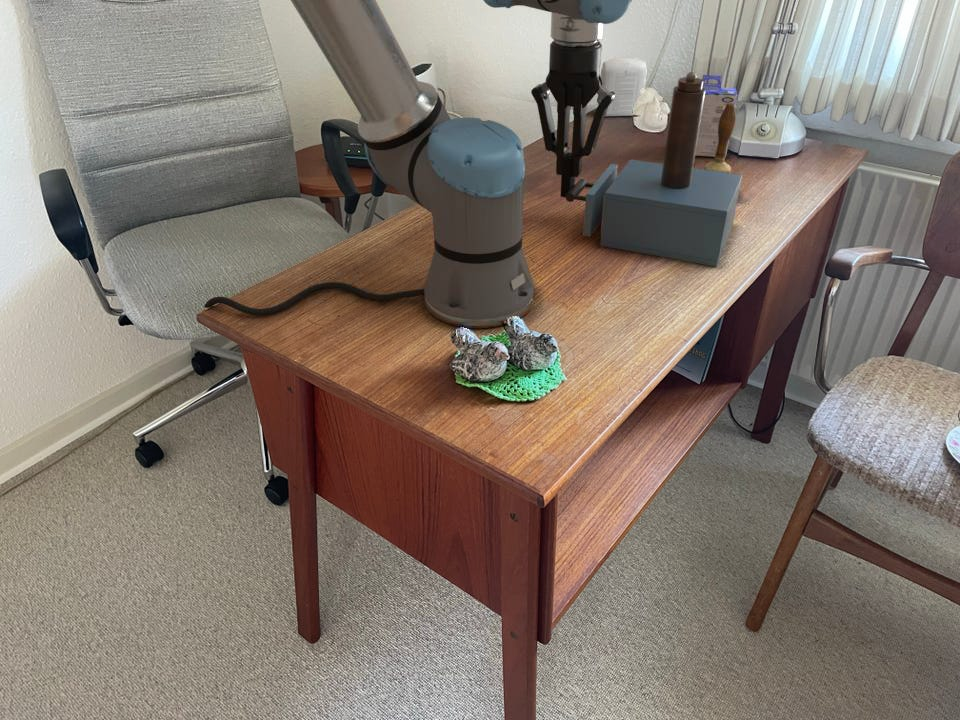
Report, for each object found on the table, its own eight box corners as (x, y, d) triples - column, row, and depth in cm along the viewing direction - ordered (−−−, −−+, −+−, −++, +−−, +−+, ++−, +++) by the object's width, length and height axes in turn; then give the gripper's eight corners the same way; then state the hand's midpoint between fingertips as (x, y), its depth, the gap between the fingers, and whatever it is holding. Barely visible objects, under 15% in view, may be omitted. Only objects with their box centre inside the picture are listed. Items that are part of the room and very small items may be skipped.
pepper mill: (669, 190, 108) (685, 77, 99) (655, 179, 112) (670, 69, 102) (695, 187, 109) (714, 74, 100) (681, 176, 113) (698, 66, 103)
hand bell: (711, 183, 133) (727, 93, 124) (747, 198, 127) (766, 105, 118) (678, 193, 129) (692, 102, 120) (713, 209, 124) (731, 114, 114)
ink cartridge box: (725, 148, 147) (739, 74, 139) (727, 158, 143) (741, 82, 134) (675, 146, 149) (685, 72, 140) (675, 155, 145) (686, 80, 136)
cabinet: (600, 245, 113) (604, 192, 108) (625, 209, 124) (630, 159, 119) (716, 266, 107) (727, 211, 102) (732, 226, 118) (742, 174, 113)
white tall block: (639, 111, 168) (645, 54, 161) (643, 116, 165) (650, 59, 158) (595, 112, 168) (599, 56, 161) (598, 118, 165) (603, 60, 157)
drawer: (556, 230, 116) (558, 189, 112) (583, 198, 126) (585, 160, 122) (689, 254, 109) (696, 211, 105) (705, 218, 119) (713, 177, 115)
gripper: (524, 42, 105) (522, 196, 119) (612, 50, 100) (599, 209, 114) (542, 32, 110) (537, 180, 124) (626, 38, 106) (612, 191, 120)
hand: (567, 194), depth 119 cm, fingers closed
